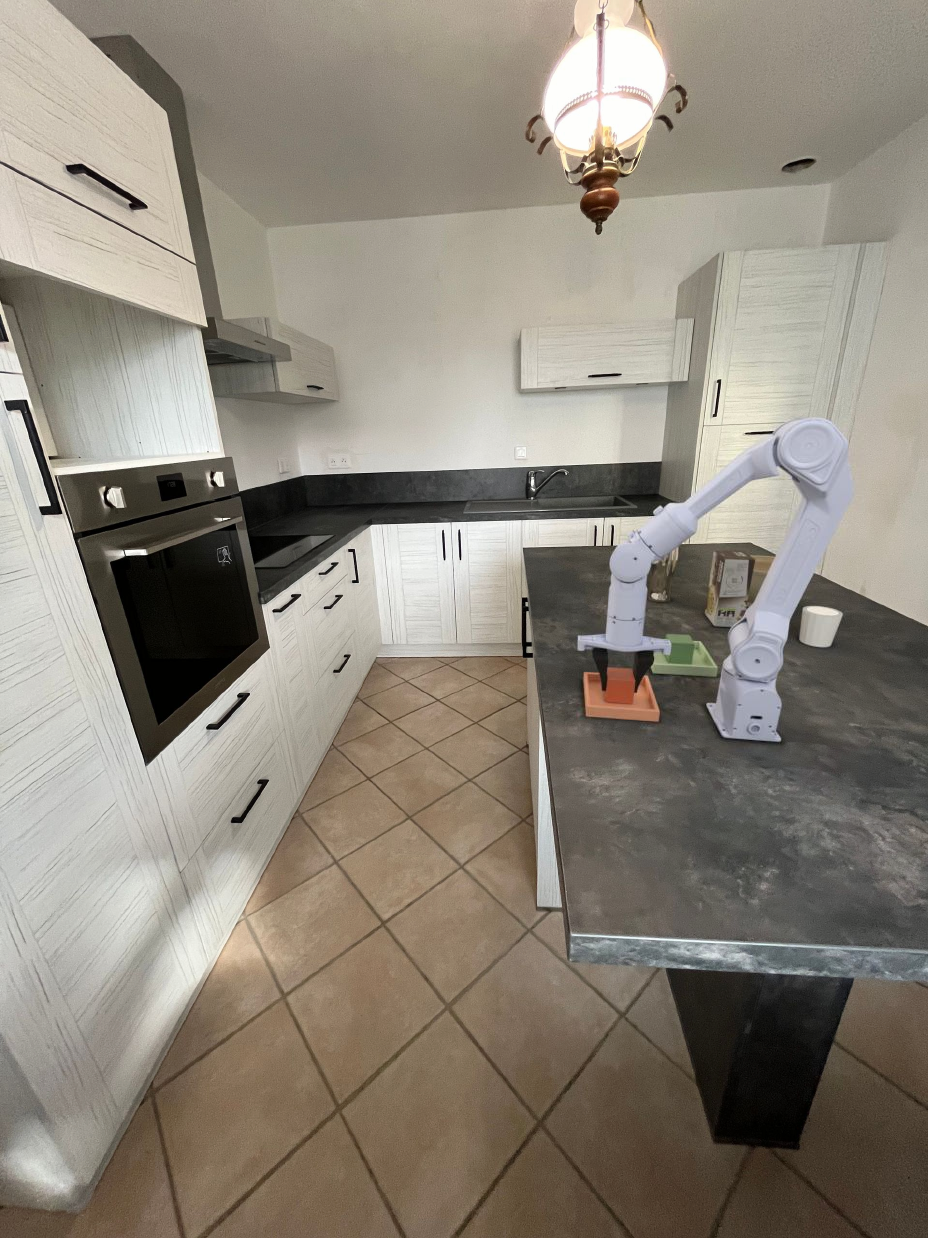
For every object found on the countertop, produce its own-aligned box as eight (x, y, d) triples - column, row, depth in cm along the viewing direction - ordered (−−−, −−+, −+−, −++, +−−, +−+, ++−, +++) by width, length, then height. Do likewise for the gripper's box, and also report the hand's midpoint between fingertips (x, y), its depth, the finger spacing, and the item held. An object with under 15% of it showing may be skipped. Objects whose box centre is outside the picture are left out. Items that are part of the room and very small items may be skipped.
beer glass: (639, 597, 133) (644, 543, 128) (658, 593, 136) (664, 540, 131) (658, 604, 128) (665, 548, 122) (678, 600, 130) (685, 544, 125)
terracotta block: (633, 704, 81) (635, 680, 79) (605, 702, 82) (607, 678, 80) (629, 691, 85) (632, 668, 83) (603, 689, 86) (605, 667, 84)
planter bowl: (714, 593, 134) (721, 555, 130) (778, 594, 132) (786, 555, 128) (736, 614, 119) (743, 571, 115) (808, 615, 117) (818, 571, 113)
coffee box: (744, 628, 111) (756, 559, 105) (713, 626, 112) (724, 558, 107) (731, 614, 119) (743, 549, 114) (703, 613, 121) (713, 549, 115)
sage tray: (716, 676, 90) (718, 667, 89) (652, 673, 92) (653, 664, 92) (699, 649, 101) (701, 641, 101) (643, 647, 103) (644, 638, 103)
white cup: (797, 645, 102) (804, 613, 99) (794, 633, 107) (801, 603, 105) (837, 650, 99) (846, 618, 96) (832, 638, 104) (840, 607, 102)
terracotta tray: (658, 721, 77) (659, 711, 76) (585, 716, 79) (586, 706, 78) (646, 684, 88) (647, 675, 87) (583, 681, 90) (583, 672, 90)
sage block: (691, 664, 94) (695, 643, 93) (667, 663, 95) (670, 642, 93) (686, 654, 98) (689, 634, 97) (663, 653, 99) (666, 633, 97)
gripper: (668, 607, 80) (659, 680, 85) (578, 604, 83) (574, 675, 88) (677, 623, 74) (667, 701, 79) (580, 619, 77) (575, 695, 81)
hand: (618, 689), depth 83 cm, fingers closed on terracotta block, 4 cm apart
